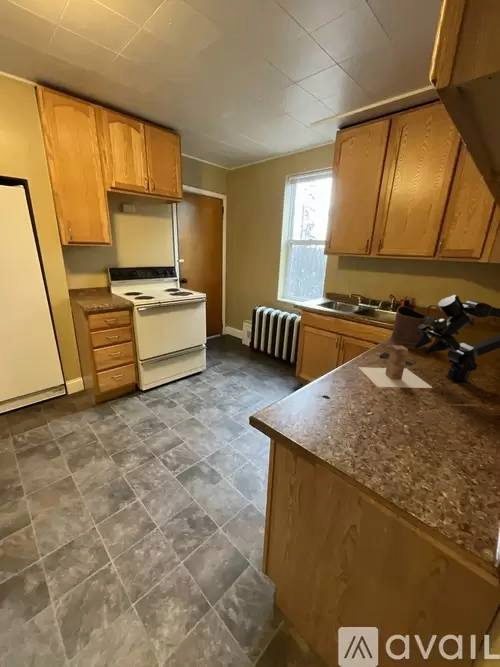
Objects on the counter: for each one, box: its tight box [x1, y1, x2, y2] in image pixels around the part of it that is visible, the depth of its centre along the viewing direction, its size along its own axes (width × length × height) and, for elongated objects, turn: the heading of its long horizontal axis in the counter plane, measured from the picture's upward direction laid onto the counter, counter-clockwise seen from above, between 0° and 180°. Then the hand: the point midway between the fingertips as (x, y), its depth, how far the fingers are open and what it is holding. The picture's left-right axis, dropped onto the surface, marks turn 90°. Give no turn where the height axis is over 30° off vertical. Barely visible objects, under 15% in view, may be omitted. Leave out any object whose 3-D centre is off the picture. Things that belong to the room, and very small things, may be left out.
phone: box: [378, 352, 417, 367], centre depth 136 cm, size 8×1×15 cm
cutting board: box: [358, 366, 434, 389], centre depth 116 cm, size 22×18×1 cm
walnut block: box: [385, 344, 409, 379], centre depth 114 cm, size 4×4×13 cm
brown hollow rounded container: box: [387, 304, 441, 350], centre depth 156 cm, size 18×24×25 cm
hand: (419, 350), depth 113 cm, fingers open, 6 cm apart
